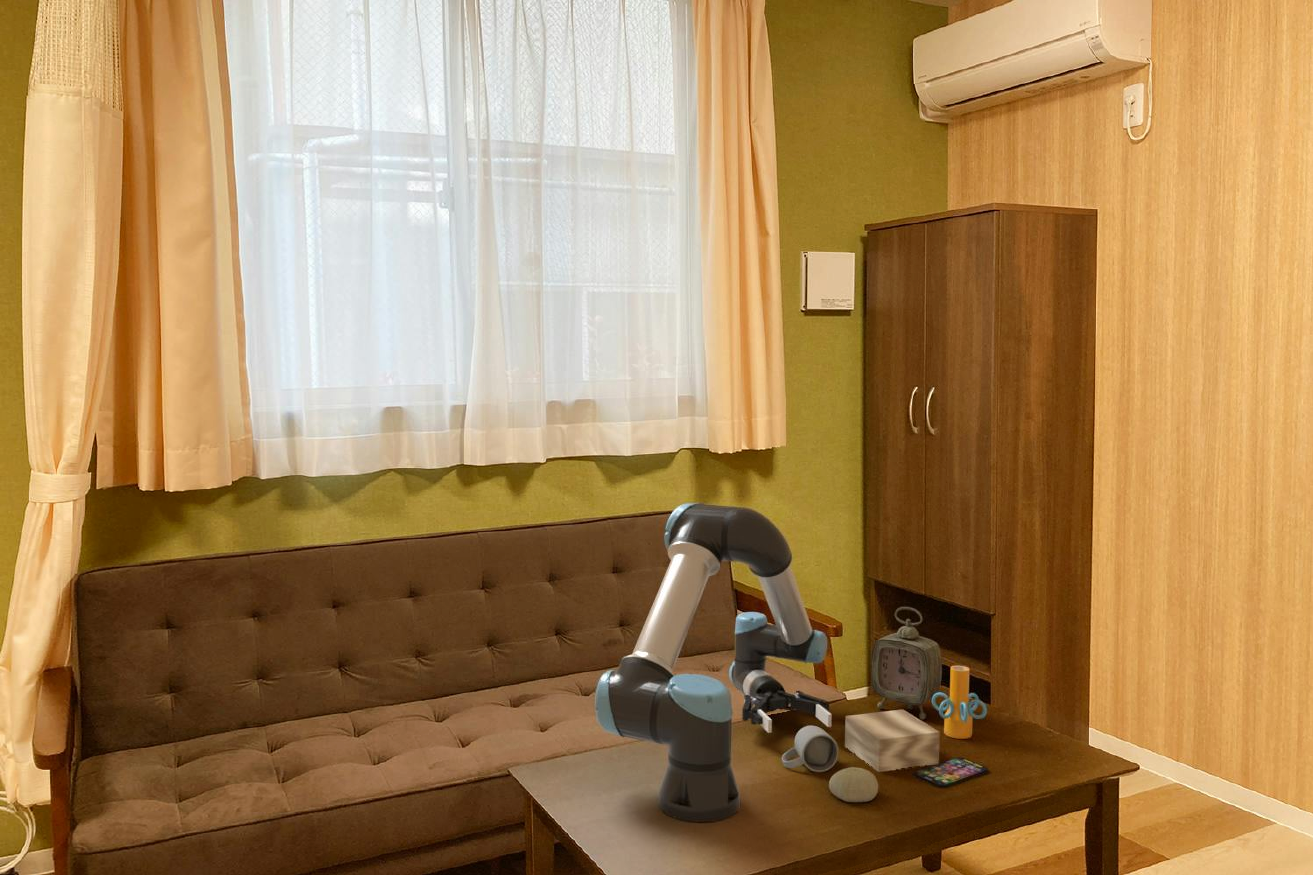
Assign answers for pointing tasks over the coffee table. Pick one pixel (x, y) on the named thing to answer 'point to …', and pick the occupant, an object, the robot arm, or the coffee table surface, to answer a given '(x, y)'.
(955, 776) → the smartphone
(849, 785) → the sea urchin shell
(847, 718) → the birch block
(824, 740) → the ceramic mug
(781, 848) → the coffee table surface
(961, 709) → the ring toss post
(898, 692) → the tabletop clock
